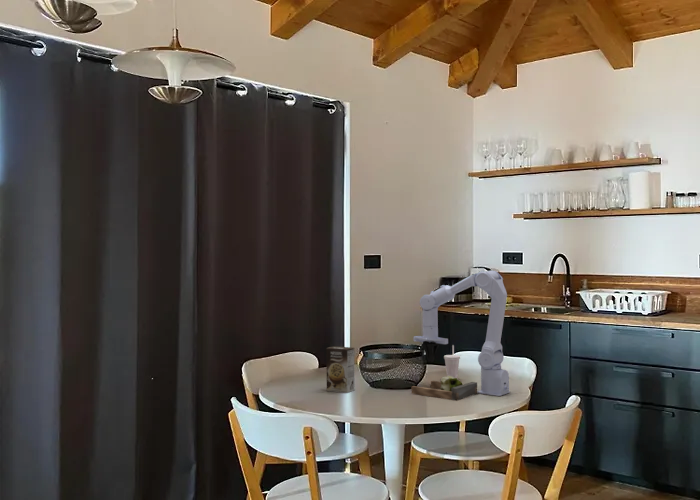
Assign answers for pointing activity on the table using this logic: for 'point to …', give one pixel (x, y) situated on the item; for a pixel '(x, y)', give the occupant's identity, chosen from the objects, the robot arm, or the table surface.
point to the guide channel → (455, 394)
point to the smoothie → (452, 364)
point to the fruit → (449, 383)
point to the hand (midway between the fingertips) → (430, 361)
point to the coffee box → (340, 369)
